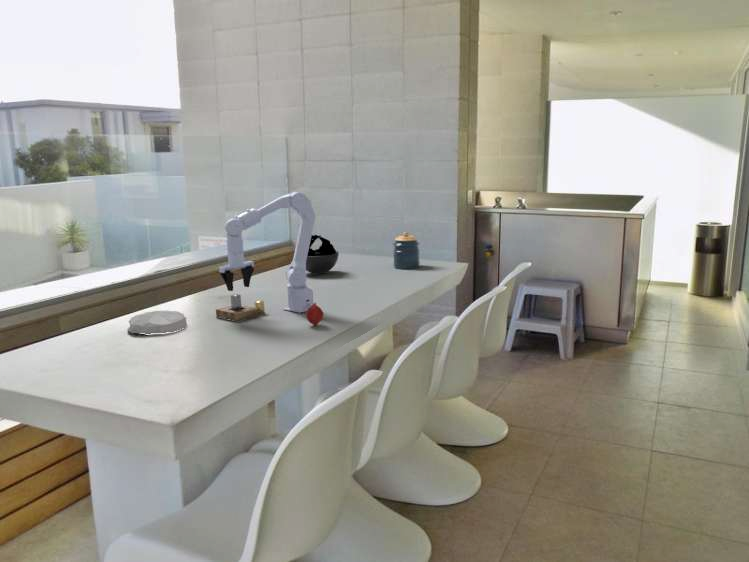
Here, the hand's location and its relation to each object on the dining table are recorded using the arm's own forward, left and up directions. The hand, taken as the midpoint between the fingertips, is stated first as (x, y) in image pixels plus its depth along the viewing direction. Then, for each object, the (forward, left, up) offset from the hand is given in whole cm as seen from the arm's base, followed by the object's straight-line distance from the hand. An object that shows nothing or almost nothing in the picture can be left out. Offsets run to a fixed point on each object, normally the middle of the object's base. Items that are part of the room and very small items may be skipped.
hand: (238, 288), depth 242 cm
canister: (+5, -109, -10) cm, 109 cm away
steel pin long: (-1, +2, -10) cm, 10 cm away
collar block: (-1, +2, -10) cm, 10 cm away
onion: (-34, -5, -10) cm, 36 cm away
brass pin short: (-4, -6, -10) cm, 12 cm away
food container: (+10, +28, -10) cm, 32 cm away
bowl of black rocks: (+32, -74, -10) cm, 81 cm away
